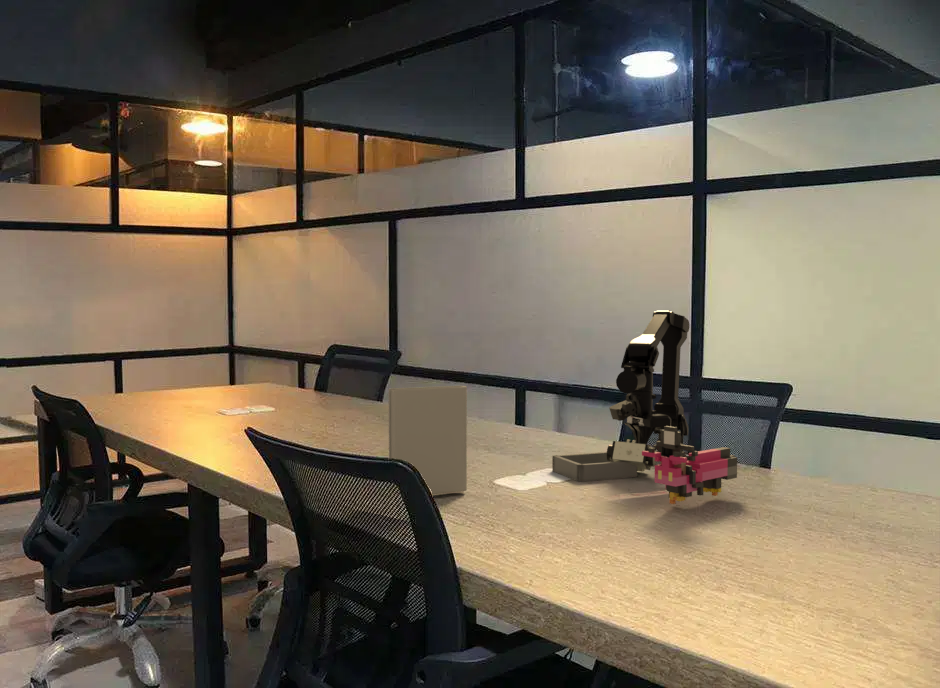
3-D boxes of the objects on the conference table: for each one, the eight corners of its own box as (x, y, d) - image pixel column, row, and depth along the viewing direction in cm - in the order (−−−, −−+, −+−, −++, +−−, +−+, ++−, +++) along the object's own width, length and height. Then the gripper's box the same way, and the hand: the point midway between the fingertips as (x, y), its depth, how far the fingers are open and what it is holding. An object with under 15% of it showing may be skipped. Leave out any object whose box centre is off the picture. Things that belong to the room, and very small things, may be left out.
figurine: (641, 502, 182) (642, 425, 182) (710, 486, 198) (711, 416, 197) (683, 511, 174) (684, 431, 173) (752, 494, 190) (753, 421, 189)
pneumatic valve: (659, 476, 213) (650, 461, 203) (614, 471, 218) (603, 456, 209) (662, 455, 215) (653, 440, 206) (618, 451, 220) (607, 435, 211)
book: (394, 498, 185) (394, 390, 184) (388, 495, 189) (388, 388, 188) (469, 490, 193) (469, 386, 192) (462, 487, 197) (462, 385, 196)
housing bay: (607, 466, 223) (607, 451, 223) (637, 476, 209) (637, 461, 209) (552, 471, 217) (552, 455, 217) (579, 481, 204) (579, 465, 203)
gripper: (595, 388, 223) (595, 447, 224) (634, 394, 206) (633, 458, 206) (632, 387, 227) (631, 444, 228) (672, 393, 210) (672, 455, 210)
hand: (640, 450), depth 218 cm, fingers closed
